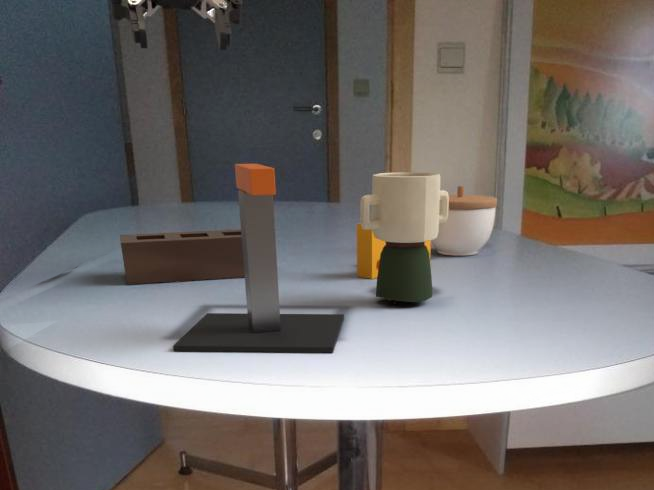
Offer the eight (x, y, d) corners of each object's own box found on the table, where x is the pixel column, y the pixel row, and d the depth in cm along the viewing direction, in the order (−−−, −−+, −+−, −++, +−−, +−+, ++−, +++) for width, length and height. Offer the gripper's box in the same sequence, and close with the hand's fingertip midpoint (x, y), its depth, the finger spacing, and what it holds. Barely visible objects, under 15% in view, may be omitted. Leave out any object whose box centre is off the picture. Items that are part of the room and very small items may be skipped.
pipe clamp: (405, 262, 102) (406, 214, 99) (430, 266, 99) (431, 216, 96) (347, 274, 94) (346, 222, 91) (371, 278, 91) (372, 225, 88)
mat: (173, 351, 63) (172, 345, 63) (207, 318, 73) (207, 313, 73) (333, 352, 62) (332, 347, 62) (344, 319, 73) (344, 314, 73)
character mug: (425, 290, 85) (429, 170, 79) (463, 302, 79) (470, 173, 73) (345, 301, 80) (342, 174, 74) (379, 314, 74) (379, 178, 69)
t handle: (243, 320, 71) (231, 164, 64) (269, 317, 71) (260, 163, 65) (258, 340, 64) (246, 168, 58) (287, 338, 64) (278, 168, 58)
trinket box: (508, 254, 108) (513, 186, 104) (452, 260, 103) (455, 190, 99) (462, 245, 116) (466, 182, 112) (408, 251, 111) (410, 185, 107)
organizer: (125, 274, 95) (119, 234, 93) (261, 266, 100) (259, 228, 98) (127, 285, 89) (120, 242, 87) (272, 275, 94) (270, 235, 91)
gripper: (94, -104, 78) (112, 8, 73) (227, -94, 82) (251, 13, 77) (103, -35, 85) (119, 71, 80) (225, -29, 88) (247, 73, 84)
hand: (184, 42), depth 78 cm, fingers open, 8 cm apart
